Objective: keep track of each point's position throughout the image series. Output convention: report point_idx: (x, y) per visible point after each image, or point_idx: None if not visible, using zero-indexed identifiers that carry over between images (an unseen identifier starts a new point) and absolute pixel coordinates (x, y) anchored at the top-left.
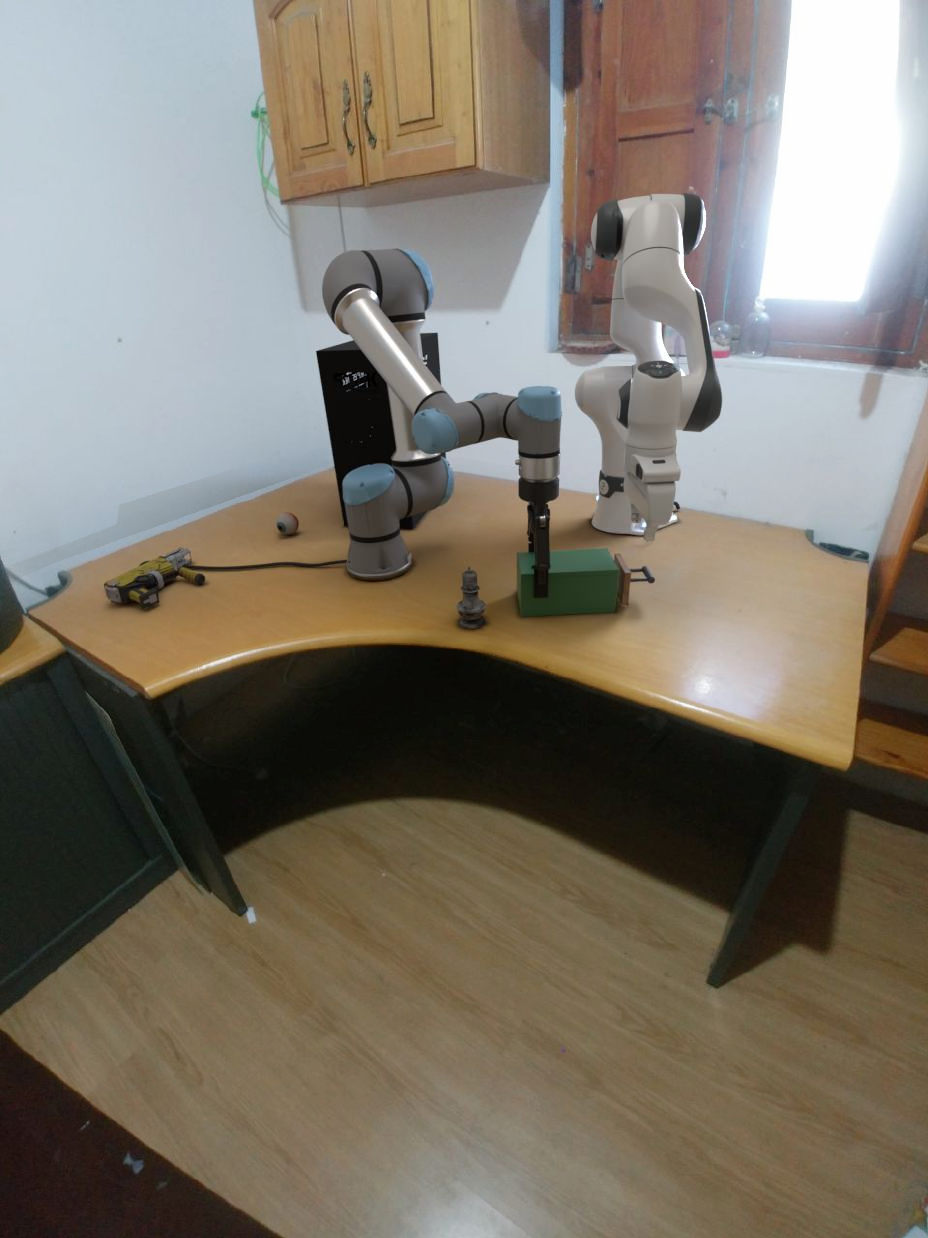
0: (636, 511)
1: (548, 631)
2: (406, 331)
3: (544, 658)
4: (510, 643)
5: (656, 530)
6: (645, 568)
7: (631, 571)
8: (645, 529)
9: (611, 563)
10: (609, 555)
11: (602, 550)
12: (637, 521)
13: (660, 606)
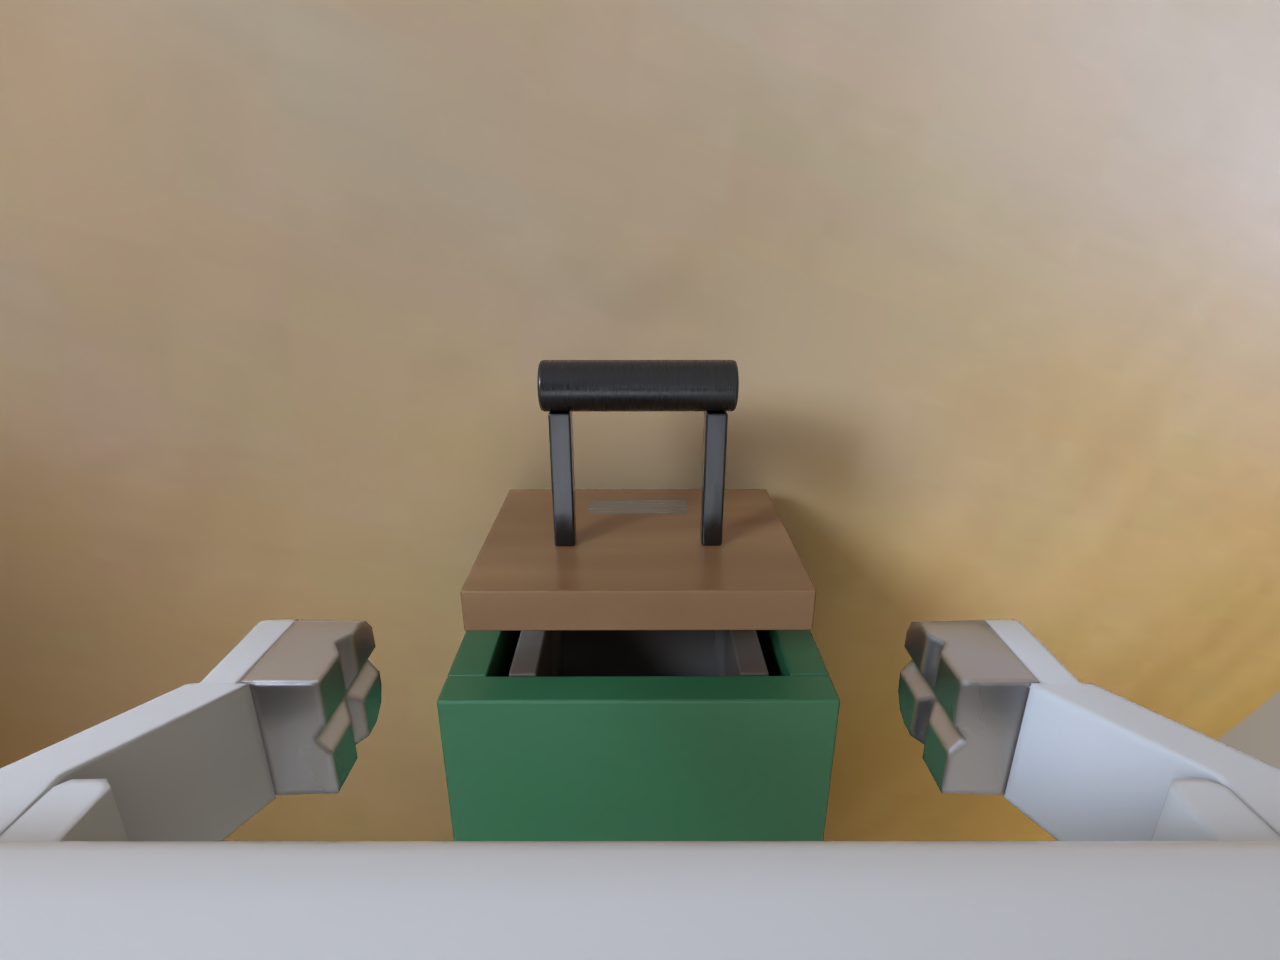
0: (238, 757)
1: (884, 819)
2: None
3: None
4: None
5: (1144, 707)
6: (583, 397)
7: (573, 481)
8: (1073, 838)
9: (727, 724)
10: (583, 713)
11: (484, 740)
12: (364, 663)
13: (745, 289)
